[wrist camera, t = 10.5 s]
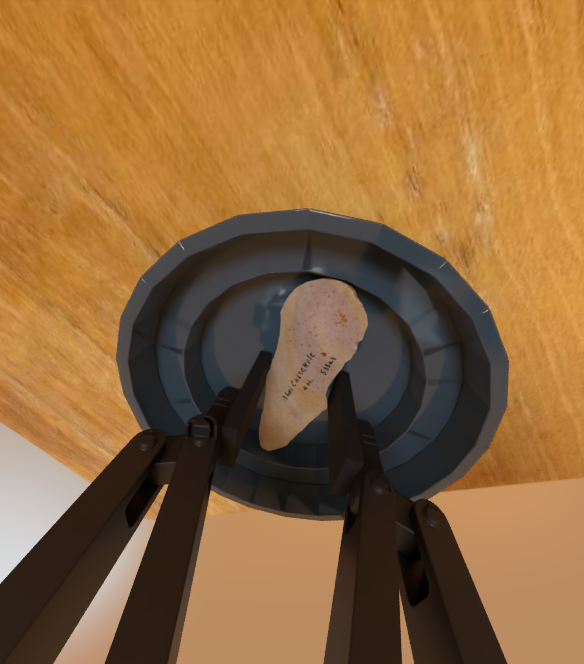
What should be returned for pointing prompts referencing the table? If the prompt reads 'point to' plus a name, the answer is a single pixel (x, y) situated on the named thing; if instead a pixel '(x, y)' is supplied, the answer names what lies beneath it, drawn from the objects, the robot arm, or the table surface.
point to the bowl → (364, 369)
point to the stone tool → (309, 356)
